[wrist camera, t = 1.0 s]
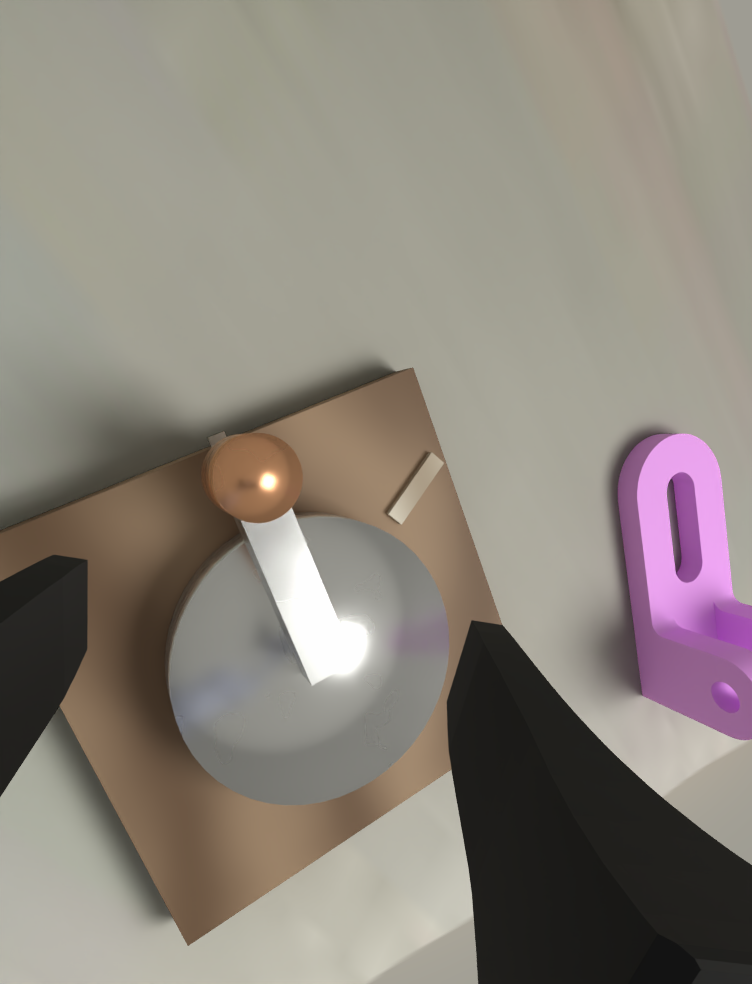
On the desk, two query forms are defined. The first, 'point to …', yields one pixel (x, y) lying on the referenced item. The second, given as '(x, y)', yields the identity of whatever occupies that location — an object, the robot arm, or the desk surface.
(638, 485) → the bracket
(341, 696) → the dial
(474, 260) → the desk surface
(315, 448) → the dial plate
